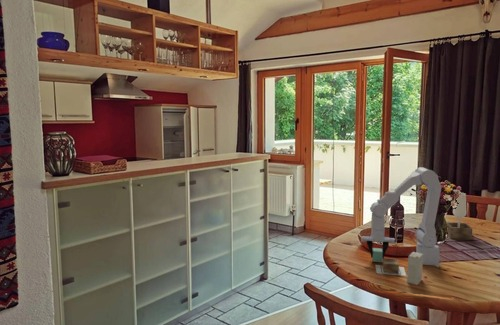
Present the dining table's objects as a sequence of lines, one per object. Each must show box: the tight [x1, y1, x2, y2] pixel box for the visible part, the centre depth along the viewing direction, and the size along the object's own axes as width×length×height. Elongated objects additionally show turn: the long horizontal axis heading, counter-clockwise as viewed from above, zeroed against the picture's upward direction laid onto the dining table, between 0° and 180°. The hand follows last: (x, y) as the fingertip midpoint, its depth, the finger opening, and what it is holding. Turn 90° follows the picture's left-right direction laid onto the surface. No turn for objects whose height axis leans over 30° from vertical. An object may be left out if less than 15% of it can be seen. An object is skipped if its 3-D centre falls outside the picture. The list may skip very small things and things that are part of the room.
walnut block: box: [382, 257, 400, 274], centre depth 165 cm, size 6×6×4 cm
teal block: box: [371, 247, 383, 263], centre depth 175 cm, size 4×4×5 cm
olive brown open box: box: [445, 221, 473, 241], centre depth 210 cm, size 11×11×6 cm
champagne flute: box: [452, 192, 468, 228], centre depth 209 cm, size 7×7×24 cm
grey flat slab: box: [374, 264, 407, 277], centre depth 166 cm, size 12×9×1 cm
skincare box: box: [406, 251, 424, 286], centre depth 154 cm, size 6×4×12 cm
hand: (377, 257), depth 175 cm, fingers closed on teal block, 4 cm apart
